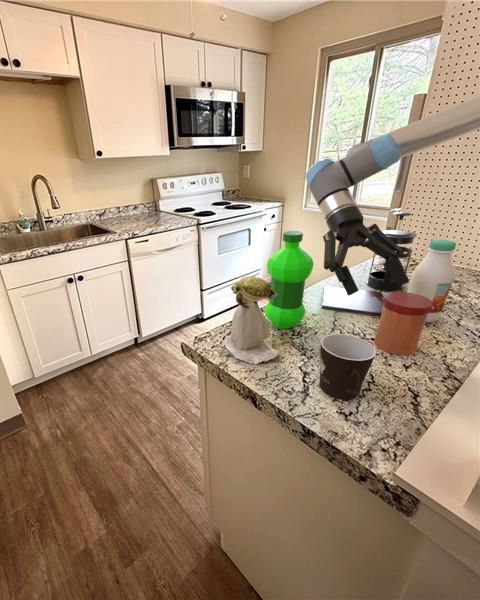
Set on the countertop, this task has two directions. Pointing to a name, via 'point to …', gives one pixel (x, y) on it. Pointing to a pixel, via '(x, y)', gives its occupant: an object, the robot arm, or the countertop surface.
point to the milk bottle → (434, 276)
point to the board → (352, 301)
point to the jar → (399, 332)
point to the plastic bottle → (288, 281)
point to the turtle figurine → (251, 322)
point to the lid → (407, 303)
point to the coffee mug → (344, 365)
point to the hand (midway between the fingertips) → (378, 288)
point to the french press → (382, 275)
